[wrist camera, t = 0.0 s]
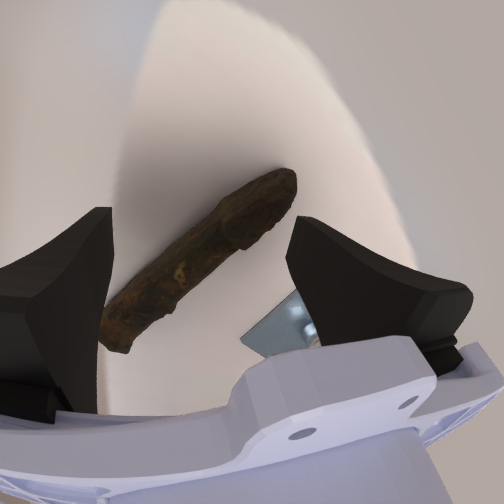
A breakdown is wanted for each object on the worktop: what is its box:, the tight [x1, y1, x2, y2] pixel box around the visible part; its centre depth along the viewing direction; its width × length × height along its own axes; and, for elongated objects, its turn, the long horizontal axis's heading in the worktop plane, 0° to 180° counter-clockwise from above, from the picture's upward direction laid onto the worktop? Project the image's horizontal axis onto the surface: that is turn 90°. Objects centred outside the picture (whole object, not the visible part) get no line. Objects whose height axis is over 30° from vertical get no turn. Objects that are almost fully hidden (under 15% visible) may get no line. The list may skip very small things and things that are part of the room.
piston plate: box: [240, 289, 322, 358], centre depth 28 cm, size 10×10×4 cm
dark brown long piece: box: [98, 168, 297, 354], centre depth 21 cm, size 19×4×5 cm, turn 125°
